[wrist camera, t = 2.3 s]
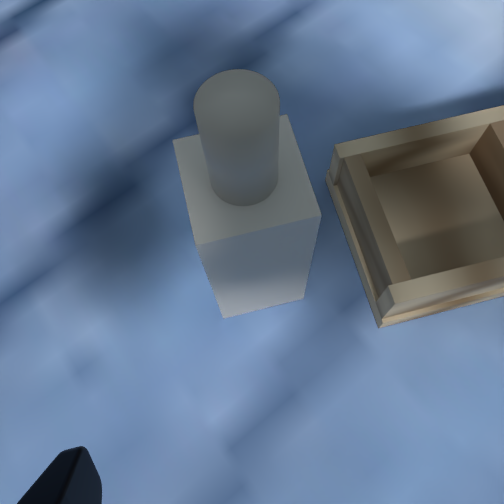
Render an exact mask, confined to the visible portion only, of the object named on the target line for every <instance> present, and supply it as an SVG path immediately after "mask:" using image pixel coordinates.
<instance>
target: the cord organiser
mask: <svg viewBox="0 0 504 504" xmlns="http://www.w3.org/2000/svg"><path fill="white" fill-rule="evenodd" d="M325 180H326V183H327V186H328V189H329V191H330V194H331V197H332V200H333V203H334V205H335V208H336V211H337V214H338V217H339V219H340V222H341V225H342V228H343V231H344V233H345V236H346V239H347V242H348V245H349V247H350V250H351V253H352V256H353V259H354V261H355V264H356V267H357V270H358V273H359V275H360V278H361V281H362V284H363V287H364V289H365V292H366V295H367V298H368V301H369V303H370V306H371V309H372V312H373V314H374V317H375V320H376V323H377V326H378V328H381V327H385V326H389V325H393V324H397V323H401V322H405V321H409V320H412V319H416V318H420V317H424V316H428V315H432V314H436V313H440V312H444V311H448V310H451V309H455V308H459V307H463V306H467V305H471V304H475V303H479V302H483V301H487V300H490V299H494V298H498V297H502V296H504V105H502V106H498V107H494V108H489V109H485V110H481V111H477V112H472V113H468V114H464V115H459V116H455V117H451V118H446V119H442V120H438V121H433V122H429V123H425V124H420V125H416V126H412V127H407V128H403V129H399V130H395V131H390V132H386V133H382V134H377V135H373V136H369V137H364V138H360V139H356V140H351V141H347V142H343V143H338V144H335V145H334V150H333V154H332V159H331V164H330V168H329V169H328V170H327V174H326V179H325Z"/></svg>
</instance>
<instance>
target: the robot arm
mask: <svg viewBox="0 0 504 504" xmlns="http://www.w3.org/2000/svg"><path fill="white" fill-rule="evenodd" d="M17 504H102V484H101V479H100V476H99V474H98V472H97V470H96V467H95V465H94V463H93V461H92V459H91V456H90V454H89V452H88V450H87V449H86V448H85V447H83V446H79V447H75V448H71V449H68V450H64V451H62V452H61V453H60V454H58V456H57V457H56V458H55V459H54V460H53V461H52V463H51V464H50V465H49V466H48V467H47V469H46V470H45V471H44V472H43V473H42V474H41V476H40V477H39V478H38V479H37V480H36V482H35V483H34V484H33V485H32V486H31V487H30V489H29V490H28V491H27V492H26V493H25V495H24V496H23V497H22V498H21V499H20V500H19V502H18V503H17Z"/></svg>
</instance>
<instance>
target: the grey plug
mask: <svg viewBox="0 0 504 504" xmlns="http://www.w3.org/2000/svg"><path fill="white" fill-rule="evenodd" d="M193 108H194V113H195V118H196V122H197V126H198V131H199V134H197V135H193V136H188V137H184V138H179V139H175V140H173V144H174V149H175V153H176V158H177V163H178V167H179V172H180V176H181V181H182V185H183V190H184V195H185V199H186V204H187V208H188V213H189V218H190V222H191V227H192V231H193V236H194V241H195V245H196V248H197V250H198V253H199V256H200V258H201V261H202V264H203V266H204V269H205V271H206V274H207V277H208V279H209V282H210V285H211V287H212V290H213V292H214V295H215V298H216V300H217V303H218V305H219V308H220V311H221V313H222V316H223V319H224V318H228V317H232V316H236V315H240V314H244V313H248V312H252V311H256V310H260V309H264V308H268V307H272V306H276V305H280V304H284V303H288V302H292V301H296V300H300V299H303V298H304V293H305V289H306V284H307V280H308V275H309V271H310V266H311V262H312V257H313V252H314V248H315V243H316V239H317V234H318V230H319V225H320V221H321V216H322V214H321V211H320V209H319V206H318V203H317V200H316V197H315V194H314V191H313V188H312V185H311V182H310V179H309V176H308V174H307V171H306V168H305V165H304V162H303V159H302V156H301V153H300V150H299V147H298V144H297V141H296V139H295V136H294V133H293V130H292V127H291V124H290V121H289V118H288V115H287V114H285V115H281V116H280V98H279V94H278V91H277V89H276V87H275V86H274V85H273V83H272V82H271V81H270V80H269V79H267V78H266V77H265V76H263V75H261V74H259V73H257V72H254V71H250V70H244V69H233V70H227V71H223V72H220V73H218V74H215V75H214V76H212V77H210V78H209V79H207V80H206V81H205V82H204V83H203V84H202V85H201V86H200V88H199V89H198V91H197V93H196V95H195V98H194V104H193Z"/></svg>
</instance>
